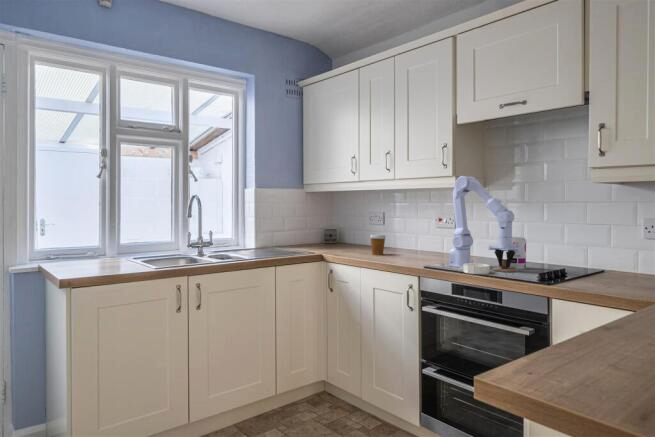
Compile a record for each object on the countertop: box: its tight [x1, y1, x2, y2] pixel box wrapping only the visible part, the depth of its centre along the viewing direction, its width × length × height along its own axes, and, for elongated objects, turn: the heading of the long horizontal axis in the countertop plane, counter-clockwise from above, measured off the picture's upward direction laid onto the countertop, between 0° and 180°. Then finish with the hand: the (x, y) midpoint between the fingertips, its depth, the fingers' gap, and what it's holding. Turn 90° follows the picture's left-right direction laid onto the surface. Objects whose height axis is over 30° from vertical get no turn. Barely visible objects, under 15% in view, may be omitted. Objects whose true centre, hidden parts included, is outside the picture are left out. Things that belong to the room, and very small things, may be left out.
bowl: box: [462, 262, 491, 275], centre depth 206 cm, size 11×11×4 cm
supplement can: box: [506, 236, 527, 270], centre depth 219 cm, size 8×8×15 cm
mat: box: [490, 267, 521, 275], centre depth 211 cm, size 14×10×1 cm
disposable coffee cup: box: [369, 233, 386, 256], centre depth 275 cm, size 10×10×12 cm
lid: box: [492, 258, 518, 273], centre depth 210 cm, size 10×10×5 cm
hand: (504, 266), depth 210 cm, fingers closed on lid, 3 cm apart
